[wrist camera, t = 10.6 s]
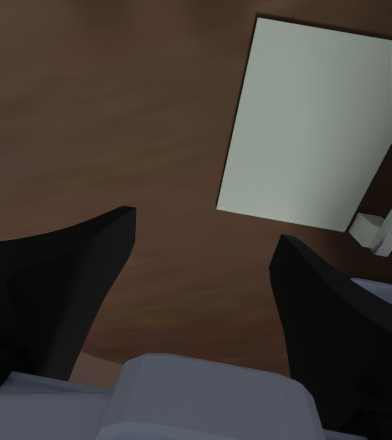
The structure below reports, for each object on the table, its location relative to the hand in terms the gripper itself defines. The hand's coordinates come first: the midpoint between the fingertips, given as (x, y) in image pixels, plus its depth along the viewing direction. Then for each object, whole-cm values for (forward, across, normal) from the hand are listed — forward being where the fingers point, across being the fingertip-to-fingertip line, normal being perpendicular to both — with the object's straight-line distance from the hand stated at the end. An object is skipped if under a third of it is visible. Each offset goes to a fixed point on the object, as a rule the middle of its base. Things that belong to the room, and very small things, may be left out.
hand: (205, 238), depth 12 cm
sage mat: (+10, -7, -4) cm, 13 cm away
